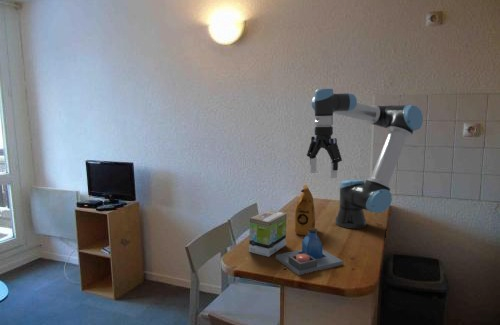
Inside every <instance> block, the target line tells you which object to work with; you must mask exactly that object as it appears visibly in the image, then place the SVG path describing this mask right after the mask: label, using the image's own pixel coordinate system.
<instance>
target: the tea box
mask: <svg viewBox="0 0 500 325" xmlns="http://www.w3.org/2000/svg"><path fill="white" fill-rule="evenodd" d="M287 216H288V215H287V213H285V212H281V211H274V210H269V209H267V210H265V211H262V212H260V213H258V214H256V215H254V216H251V217H250V218H249V235H248V237H249V240H248V241H249V244H248V252H250V253H251V254H252V253H253V254H256V255H260V256H265V257H268V258H269V257H271V255H273V254H275V253H276V252H277V251H279V250H281V249H283V248H284V247H285V246H286V243H287Z"/></svg>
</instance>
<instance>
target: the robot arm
mask: <svg viewBox="0 0 500 325" xmlns="http://www.w3.org/2000/svg"><path fill="white" fill-rule="evenodd" d="M357 101H358V99H357V97H356V95H355V94H353V93H346V92H345V93H334V89H333V88H316V90H315V92H314V96H313V98H312V99H311V104H310V105H311V108H312V110H314V125H315V127H314V135H315V136H311V137H310V144H309V147H308V150H307V153H306V157H308V158H309V160H310V161H309V164H310V165H309V166H310V174H315V173H317V164H318V163H317V162H318V161H317V159H318V158H317V155H318V154H319V152H320V150H321V149H325V150H326V152H327V154H328V156H329V158H330V160H331V162H330V179H337V178H338V170H339V163H340V162H342V161H343V159H342V156H341V152H340V149H339V146H338V138H336V137H335V138H334V137H333V138H332V136H333V134H334V133H333V132H334V131H333V130H334V129H333V128H334V127H333V125H334V116H333V115H339V116H343V117H348V118H352V119H357V120H361V121H366V123H368V124H369V125H374V126H377V127H380V128H384V129H386V130H387V132H388V134H387V136H386V138H385V141H384V143H383V146H382V148H381V151H380V154H379V157H378V158H377V161H376V163H375V166H374V169H373V170H372V173H371V176H370V177H368V178H367V179H366V180H363V179H348V180H347V179H345V180H342V181H341V182H340V188H339V209H338V212H337V216H336V217H335V225H336V226H339V227H341V228H345V229H355V230H356V229H363V228H365V227H366V226H367V220H366V217H365V216H366V215H365V213H364V210H365V211H368V212H371V213H375V214H381V213H384V212H386V211H387V210H388V208H389V207H390V206H391V204H392V200H393V198H392V196H393V195H392V193H391V187H390V183H391V180H392V176H393V174H394V172H395V169H396V166H397V164H398V162H399V159H400V157H401V154H402V151H403V149H404V146H405V144H406V141H407V139H408V138H411V137H412V135H413V133H414V131H418V130H419V129H421V128H422V125H423V122H424V117H423V113H422V110H421V109H420V107H418V106H417V105H412V104H411V105H410V104H405V105H402V104H401V105H394V104H393V105H392V104H391V105H376V104H373V105H368V104H365V103H360V102H357Z"/></svg>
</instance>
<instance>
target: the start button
mask: <svg viewBox="0 0 500 325" xmlns="http://www.w3.org/2000/svg"><path fill="white" fill-rule="evenodd" d="M296 260H298V261H299V262H305V261H310V257H309V256H308V255H306V254H298V255H296Z"/></svg>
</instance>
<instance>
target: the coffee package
mask: <svg viewBox="0 0 500 325" xmlns="http://www.w3.org/2000/svg"><path fill="white" fill-rule="evenodd" d="M300 192H301V194H299V197H298V199H297V202H296V205H295V211H294V232H295V234H296V235H301V236H309V235H308V231H309V228H316V215H315V214H316V212H315V204H314V198H313V194H312V193H311V190H310V189H309V187H308V185H307V184H304V185H303V186H302V189H301V191H300Z"/></svg>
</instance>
